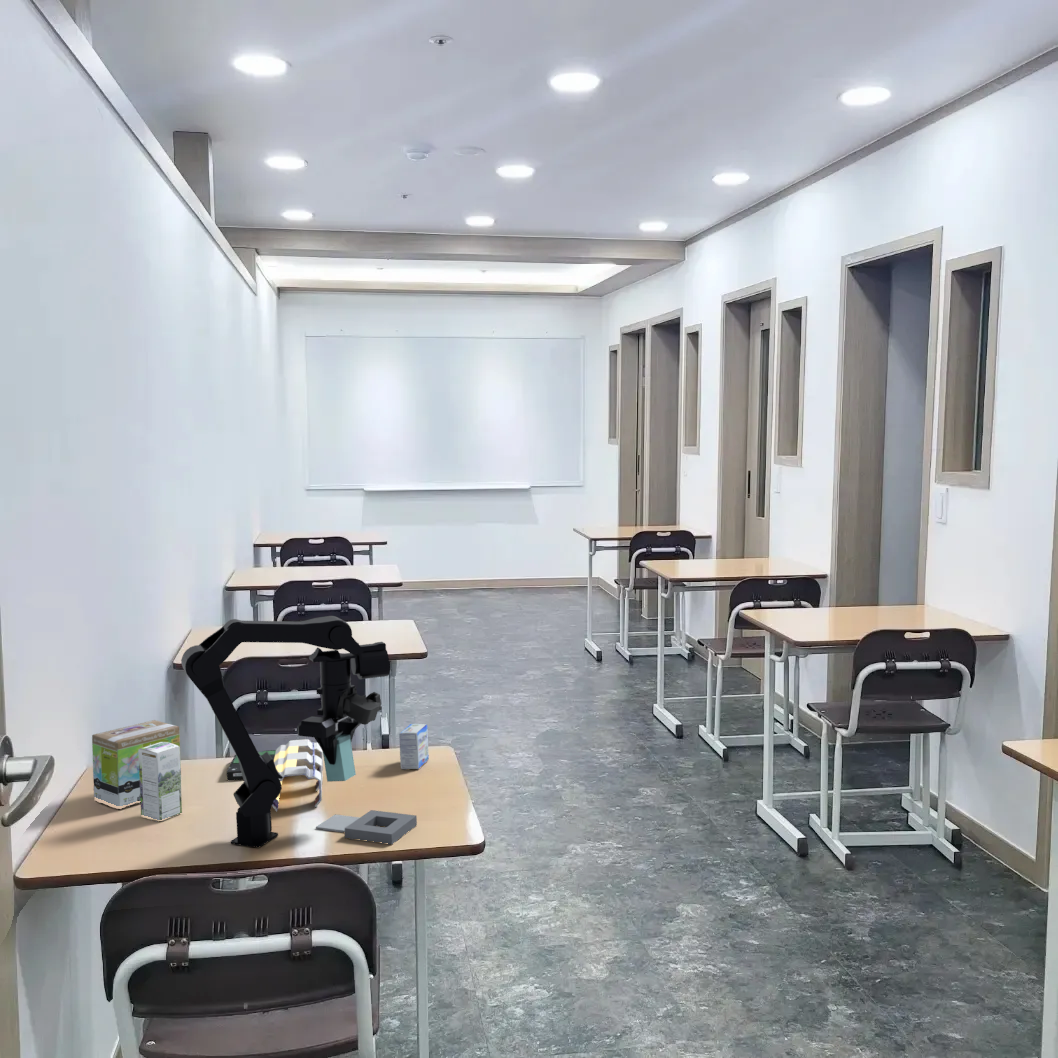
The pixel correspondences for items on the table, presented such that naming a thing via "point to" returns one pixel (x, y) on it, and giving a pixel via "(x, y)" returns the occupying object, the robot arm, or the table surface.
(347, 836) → the socket
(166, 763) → the syrup box
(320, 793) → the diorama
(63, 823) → the table surface
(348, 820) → the pad
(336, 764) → the plug
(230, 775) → the disk drive
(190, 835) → the table surface
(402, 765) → the medicine box
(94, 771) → the tea box
